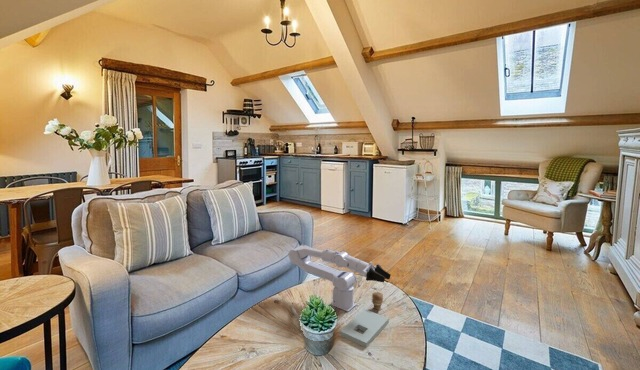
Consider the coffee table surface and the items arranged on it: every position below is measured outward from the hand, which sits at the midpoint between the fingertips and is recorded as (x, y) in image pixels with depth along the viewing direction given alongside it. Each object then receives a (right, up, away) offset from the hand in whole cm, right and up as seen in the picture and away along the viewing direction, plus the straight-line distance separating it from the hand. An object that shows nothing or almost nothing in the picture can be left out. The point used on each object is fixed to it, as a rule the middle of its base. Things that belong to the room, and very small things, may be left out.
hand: (387, 278), depth 134 cm
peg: (-2, -17, +12) cm, 21 cm away
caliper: (-40, -19, +4) cm, 44 cm away
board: (-10, -20, -4) cm, 23 cm away
